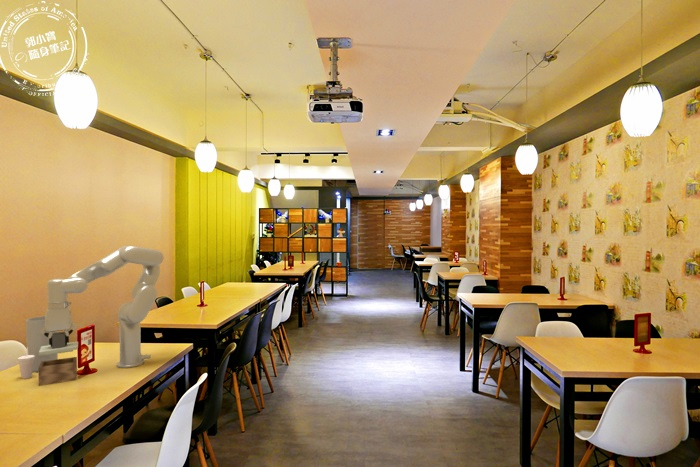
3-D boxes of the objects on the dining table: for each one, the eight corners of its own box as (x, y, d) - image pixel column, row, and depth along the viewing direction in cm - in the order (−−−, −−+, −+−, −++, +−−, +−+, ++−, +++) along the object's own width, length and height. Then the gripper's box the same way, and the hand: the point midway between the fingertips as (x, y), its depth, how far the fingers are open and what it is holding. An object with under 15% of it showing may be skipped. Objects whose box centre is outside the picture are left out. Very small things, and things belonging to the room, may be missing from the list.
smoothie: (25, 380, 197) (25, 349, 197) (14, 379, 198) (14, 349, 198) (38, 375, 203) (38, 346, 203) (27, 375, 204) (27, 345, 204)
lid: (78, 346, 206) (77, 329, 206) (77, 351, 197) (77, 333, 197) (41, 351, 199) (40, 333, 199) (38, 357, 189) (38, 338, 189)
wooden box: (76, 373, 206) (76, 356, 206) (76, 380, 196) (76, 362, 196) (41, 378, 199) (40, 361, 199) (38, 385, 189) (38, 367, 189)
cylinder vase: (55, 370, 212) (54, 319, 212) (24, 374, 206) (23, 321, 206) (59, 363, 223) (59, 315, 223) (30, 366, 217) (29, 317, 217)
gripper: (80, 302, 205) (81, 340, 205) (36, 306, 196) (37, 346, 197) (79, 304, 199) (80, 344, 199) (34, 309, 190) (35, 350, 190)
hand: (59, 345), depth 198 cm, fingers closed on lid, 4 cm apart
